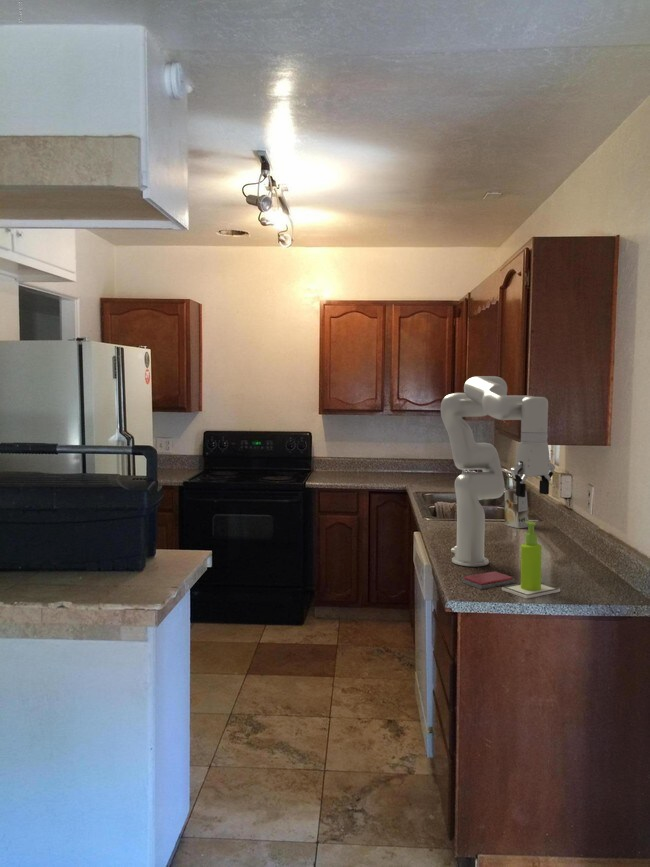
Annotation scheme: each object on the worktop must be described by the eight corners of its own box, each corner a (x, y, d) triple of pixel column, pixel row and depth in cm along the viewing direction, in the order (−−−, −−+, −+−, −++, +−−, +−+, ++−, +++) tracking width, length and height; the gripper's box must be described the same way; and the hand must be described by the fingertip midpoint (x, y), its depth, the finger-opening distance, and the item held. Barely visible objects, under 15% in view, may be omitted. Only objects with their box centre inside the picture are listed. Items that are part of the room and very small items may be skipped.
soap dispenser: (536, 584, 216) (537, 519, 215) (543, 590, 209) (544, 524, 208) (517, 584, 216) (518, 520, 215) (523, 590, 209) (524, 524, 208)
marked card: (501, 589, 213) (501, 586, 213) (534, 583, 220) (534, 580, 220) (526, 598, 204) (526, 595, 204) (560, 591, 211) (560, 588, 211)
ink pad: (461, 582, 221) (461, 576, 221) (494, 576, 228) (494, 570, 228) (481, 589, 213) (481, 583, 213) (515, 583, 220) (515, 577, 220)
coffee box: (529, 527, 307) (529, 490, 306) (518, 528, 304) (518, 491, 303) (514, 523, 315) (515, 488, 314) (503, 525, 312) (504, 489, 311)
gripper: (544, 436, 217) (543, 491, 218) (503, 438, 208) (501, 495, 209) (564, 438, 210) (562, 494, 211) (522, 440, 201) (520, 499, 203)
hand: (532, 495), depth 210 cm, fingers open, 9 cm apart
